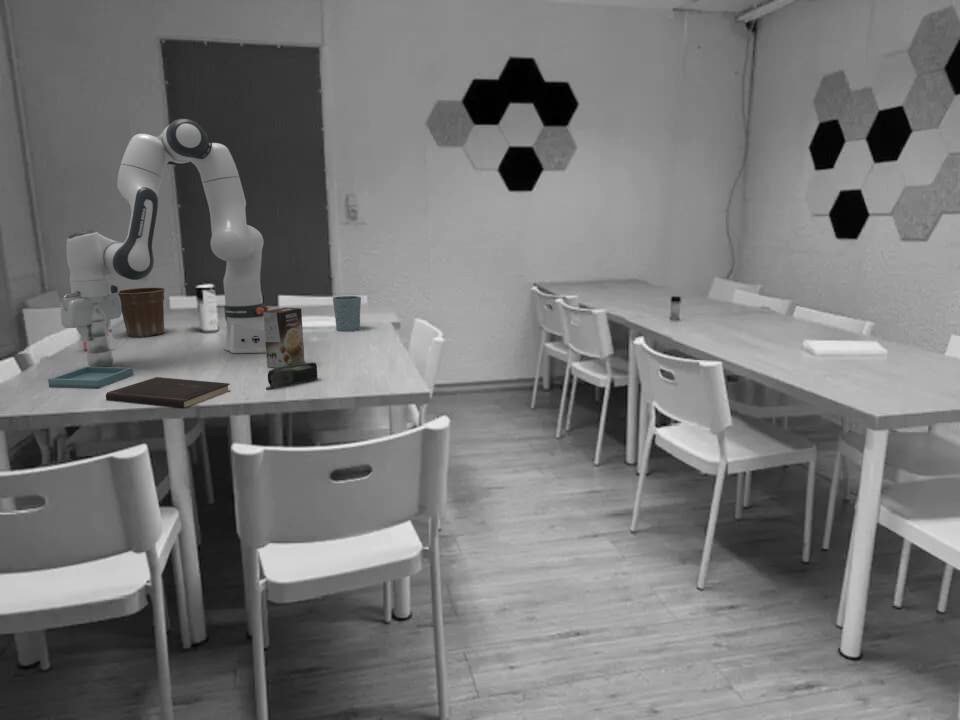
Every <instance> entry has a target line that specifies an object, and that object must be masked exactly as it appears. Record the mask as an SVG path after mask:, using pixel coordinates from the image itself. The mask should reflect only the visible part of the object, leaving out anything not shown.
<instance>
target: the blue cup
mask: <svg viewBox="0 0 960 720" xmlns="http://www.w3.org/2000/svg"><path fill="white" fill-rule="evenodd" d="M361 301H362V297H361V296H360V295H359V296H357V295H341V296H340V295H339V296H335V297H334V296H333V297H332V302H333V303H332V304H333V309H334V310H333V311H334V319H335V329H336V332H341V333H342V332H343V333H347V332H348V333H349V332H357V331H359V330H361V304H362V303H361Z"/></svg>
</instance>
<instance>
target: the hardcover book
mask: <svg viewBox="0 0 960 720" xmlns="http://www.w3.org/2000/svg"><path fill="white" fill-rule="evenodd" d="M230 385H231V383H229V382H216V381H208V380H207V381H205V380H197V379H196V380H195V379H194V380H193V379H186V378H185V379H183V378H170V377H159V376H155V377H153V378H149V379H146V380H142V381H139V382H136V383H132V384H130V385H127V386H122V387H120V388H117V389H113V390H110V391H107V392H106V394H105V399H106V401H110V402H121V403H128V404H129V403H131V404H140V405H151V406H159V407H169V408H177V409H178V408H179V409H185V408H187V407H191V406H192V405H195V404H197V403H200V402H203V401H206V400H208V399H211V398H213V397H217V396H218V395H221V394H224V393H226V392H228V391H229V386H230Z"/></svg>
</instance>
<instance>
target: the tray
mask: <svg viewBox="0 0 960 720" xmlns="http://www.w3.org/2000/svg"><path fill="white" fill-rule="evenodd" d="M132 376H134V368H133V367H121V366H120V367H114V366H112V367H111V366H108V367H90V366H85V367H80V368H78V369H75V370H72V371H69V372H67V373H63V374H60V375H57V376H53V377H51V378H47V383H48V387H49V388H76V389H77V388H78V389H79V388H80V389H100V388H104V387H106V386H109V385H110V384H113V383H116V382H119V381H121V380H124V379H127V378H129V377H132Z"/></svg>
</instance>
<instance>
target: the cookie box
mask: <svg viewBox="0 0 960 720" xmlns="http://www.w3.org/2000/svg"><path fill="white" fill-rule="evenodd" d="M302 313H303V312H302V308H298V307H281V308H274V309H268V311H263V315H264V329H265V343H266V352H265V354H266V357H265V358H266V367H269V368H273V369H275V368H277V367H282V366H290V365H297V364H305V363H306V361H305V348H304V332H303V330H304V329H303V317H302V316H303V314H302Z"/></svg>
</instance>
